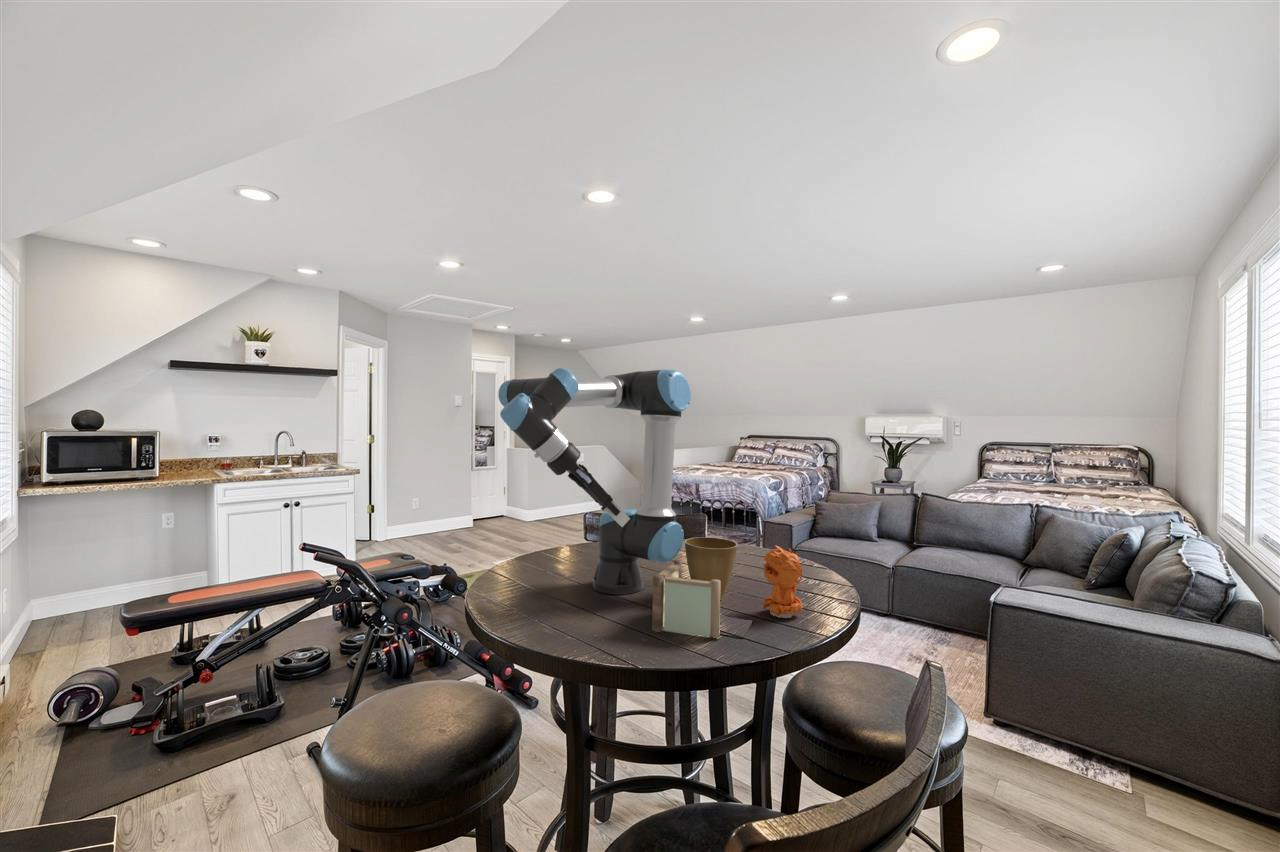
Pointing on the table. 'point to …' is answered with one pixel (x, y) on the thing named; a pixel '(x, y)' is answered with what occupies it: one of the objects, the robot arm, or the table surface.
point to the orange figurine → (782, 581)
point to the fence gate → (692, 606)
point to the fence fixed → (662, 593)
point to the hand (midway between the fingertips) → (625, 522)
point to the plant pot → (711, 559)
